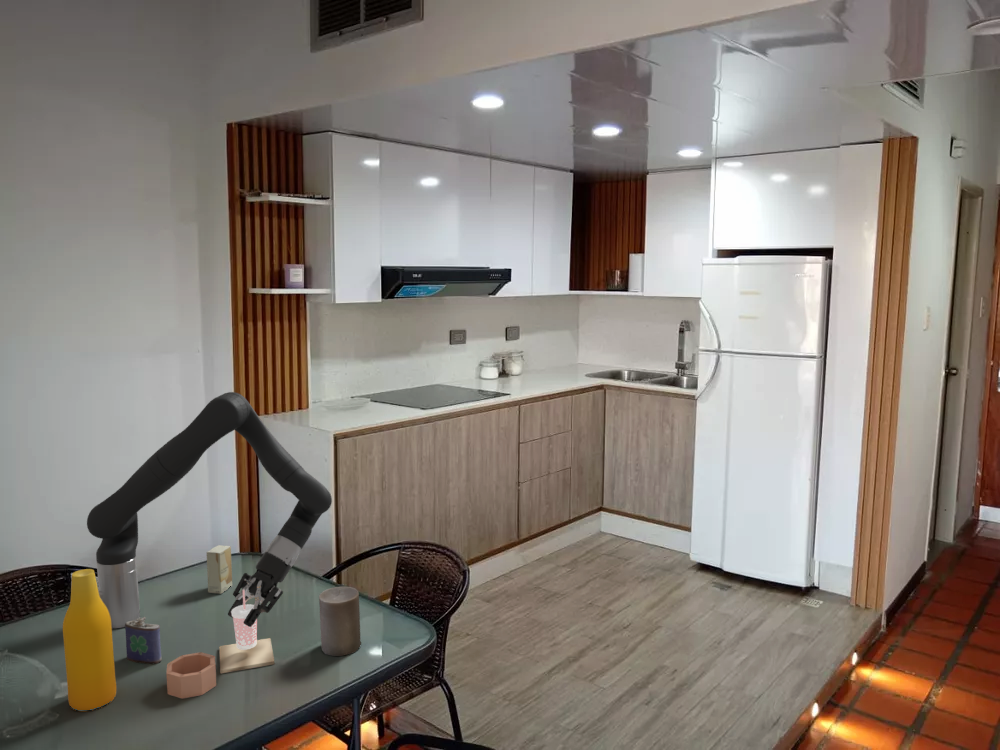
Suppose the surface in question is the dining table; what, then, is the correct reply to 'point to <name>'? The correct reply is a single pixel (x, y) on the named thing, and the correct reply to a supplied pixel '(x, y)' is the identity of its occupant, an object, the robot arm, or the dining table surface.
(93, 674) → the beer bottle
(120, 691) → the dining table surface
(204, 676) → the ceramic ring
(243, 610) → the beverage cup
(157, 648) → the flask
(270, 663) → the wooden coaster
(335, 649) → the pillar candle
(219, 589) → the skincare box
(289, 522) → the robot arm
